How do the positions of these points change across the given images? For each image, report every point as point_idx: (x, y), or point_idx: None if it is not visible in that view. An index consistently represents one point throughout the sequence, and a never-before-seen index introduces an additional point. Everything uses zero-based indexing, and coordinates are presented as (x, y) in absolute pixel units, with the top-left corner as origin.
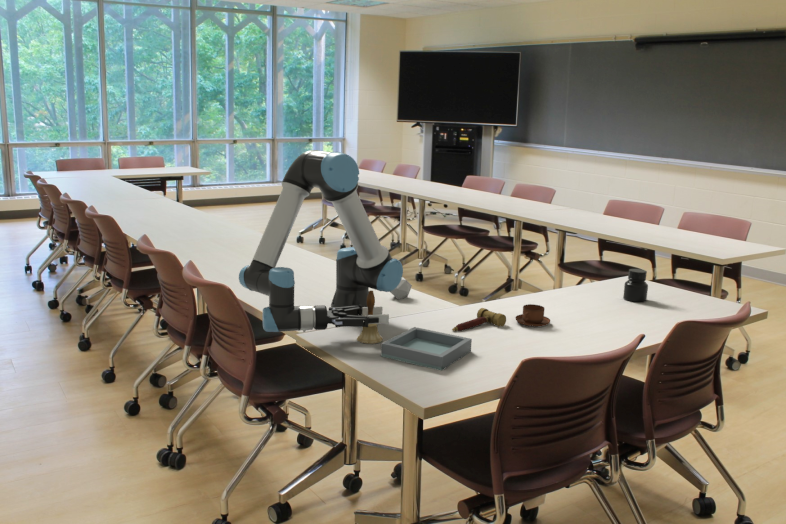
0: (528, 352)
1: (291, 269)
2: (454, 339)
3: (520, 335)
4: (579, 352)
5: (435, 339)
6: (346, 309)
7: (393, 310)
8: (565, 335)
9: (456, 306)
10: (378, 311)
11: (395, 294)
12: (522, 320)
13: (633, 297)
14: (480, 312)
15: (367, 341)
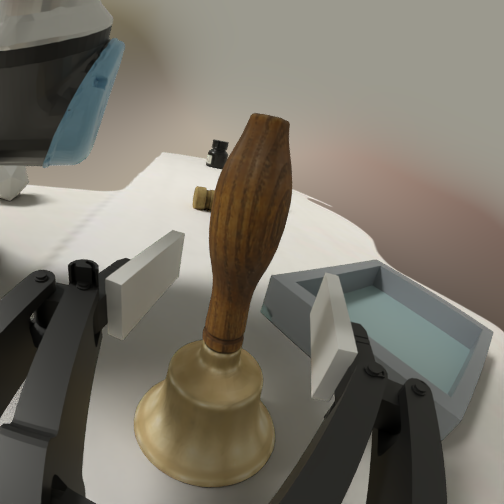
0: (365, 251)
1: None
2: (366, 273)
3: (290, 223)
4: (361, 232)
5: None
6: (35, 388)
7: (32, 227)
8: (300, 211)
9: (115, 192)
10: (172, 264)
11: (5, 191)
12: None
13: (221, 164)
14: (203, 194)
15: (263, 457)
